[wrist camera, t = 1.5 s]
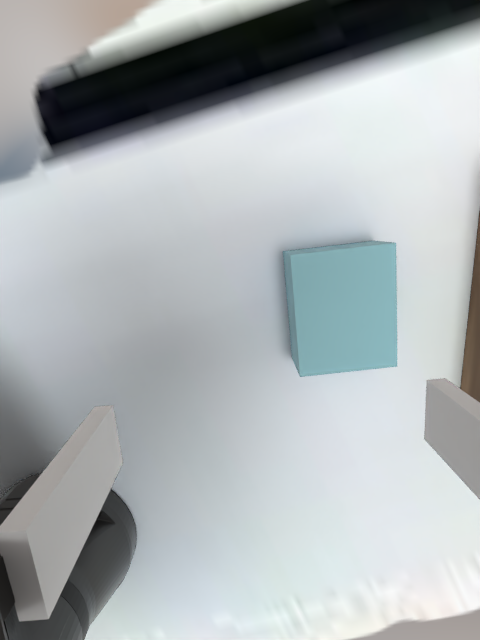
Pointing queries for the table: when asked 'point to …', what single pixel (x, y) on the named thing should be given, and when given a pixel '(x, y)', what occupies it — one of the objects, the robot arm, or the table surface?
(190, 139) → the table surface
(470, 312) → the board
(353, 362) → the block
